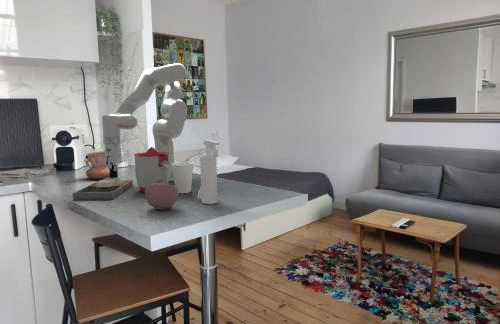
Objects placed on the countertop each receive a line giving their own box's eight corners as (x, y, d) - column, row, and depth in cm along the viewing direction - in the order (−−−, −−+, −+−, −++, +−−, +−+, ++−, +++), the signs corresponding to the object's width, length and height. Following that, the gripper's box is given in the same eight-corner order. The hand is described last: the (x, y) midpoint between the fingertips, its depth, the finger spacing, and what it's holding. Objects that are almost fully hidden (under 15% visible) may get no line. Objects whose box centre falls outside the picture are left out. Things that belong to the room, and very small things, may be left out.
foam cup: (173, 195, 162) (172, 165, 160) (171, 191, 171) (170, 162, 169) (195, 194, 164) (194, 164, 163) (192, 189, 173) (192, 161, 171)
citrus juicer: (156, 195, 161) (154, 149, 159) (128, 191, 170) (125, 147, 168) (180, 189, 175) (179, 146, 172) (153, 185, 184) (151, 144, 181)
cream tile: (114, 184, 172) (114, 179, 172) (110, 186, 166) (109, 182, 166) (101, 184, 172) (101, 180, 172) (96, 187, 166) (96, 182, 166)
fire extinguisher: (205, 197, 157) (203, 137, 152) (224, 203, 148) (223, 140, 144) (191, 200, 152) (190, 139, 148) (211, 207, 144) (210, 142, 139)
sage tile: (119, 181, 178) (119, 177, 178) (115, 184, 172) (115, 179, 172) (107, 181, 178) (106, 177, 178) (102, 184, 172) (101, 180, 172)
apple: (180, 204, 146) (180, 175, 144) (175, 213, 134) (174, 181, 133) (149, 205, 146) (148, 176, 144) (142, 213, 134) (140, 182, 132)
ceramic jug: (91, 182, 194) (89, 154, 192) (79, 178, 203) (78, 152, 202) (123, 178, 207) (122, 152, 205) (110, 174, 216) (110, 150, 215)
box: (123, 192, 168) (122, 186, 168) (112, 199, 155) (111, 192, 154) (87, 192, 168) (87, 186, 168) (73, 200, 155) (72, 193, 154)
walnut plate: (133, 186, 182) (132, 180, 182) (123, 192, 168) (123, 185, 168) (100, 186, 182) (99, 180, 182) (87, 192, 168) (87, 186, 168)
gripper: (114, 142, 169) (116, 182, 172) (125, 139, 184) (127, 176, 187) (97, 142, 169) (99, 182, 172) (109, 139, 184) (111, 176, 187)
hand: (113, 179), depth 179 cm, fingers closed
